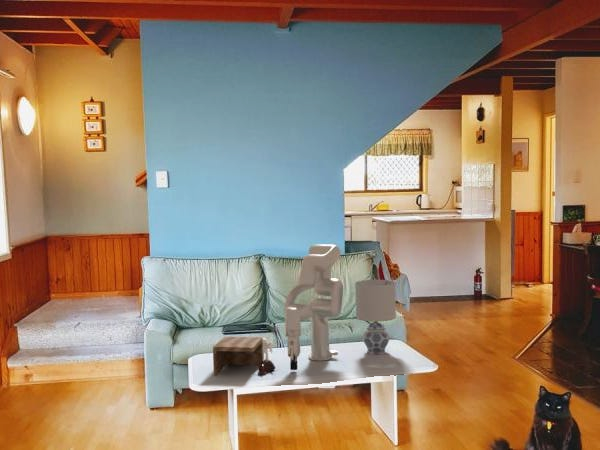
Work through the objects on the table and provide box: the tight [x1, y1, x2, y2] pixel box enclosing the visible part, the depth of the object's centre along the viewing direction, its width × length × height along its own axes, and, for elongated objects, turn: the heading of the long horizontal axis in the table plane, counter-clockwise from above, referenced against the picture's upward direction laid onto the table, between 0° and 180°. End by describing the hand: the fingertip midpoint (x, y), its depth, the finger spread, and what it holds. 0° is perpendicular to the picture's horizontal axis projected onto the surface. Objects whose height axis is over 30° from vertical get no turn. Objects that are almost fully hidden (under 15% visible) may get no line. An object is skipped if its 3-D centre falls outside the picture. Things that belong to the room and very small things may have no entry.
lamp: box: [354, 279, 397, 355], centre depth 315 cm, size 22×22×38 cm
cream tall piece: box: [262, 335, 274, 361], centre depth 307 cm, size 9×4×12 cm, turn 98°
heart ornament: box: [258, 359, 276, 377], centre depth 286 cm, size 6×12×11 cm
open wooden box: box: [212, 336, 264, 376], centre depth 289 cm, size 20×20×14 cm
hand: (293, 369), depth 284 cm, fingers closed
